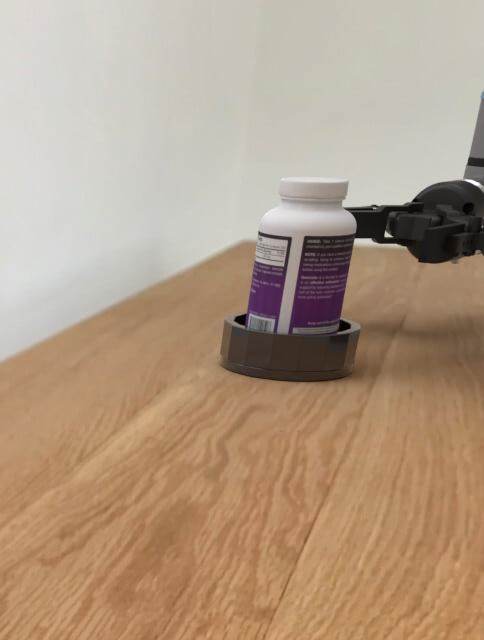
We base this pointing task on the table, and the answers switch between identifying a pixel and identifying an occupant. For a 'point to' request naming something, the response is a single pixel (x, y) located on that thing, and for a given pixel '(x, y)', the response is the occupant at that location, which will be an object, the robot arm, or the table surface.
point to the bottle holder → (288, 351)
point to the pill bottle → (302, 258)
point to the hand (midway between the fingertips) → (352, 238)
